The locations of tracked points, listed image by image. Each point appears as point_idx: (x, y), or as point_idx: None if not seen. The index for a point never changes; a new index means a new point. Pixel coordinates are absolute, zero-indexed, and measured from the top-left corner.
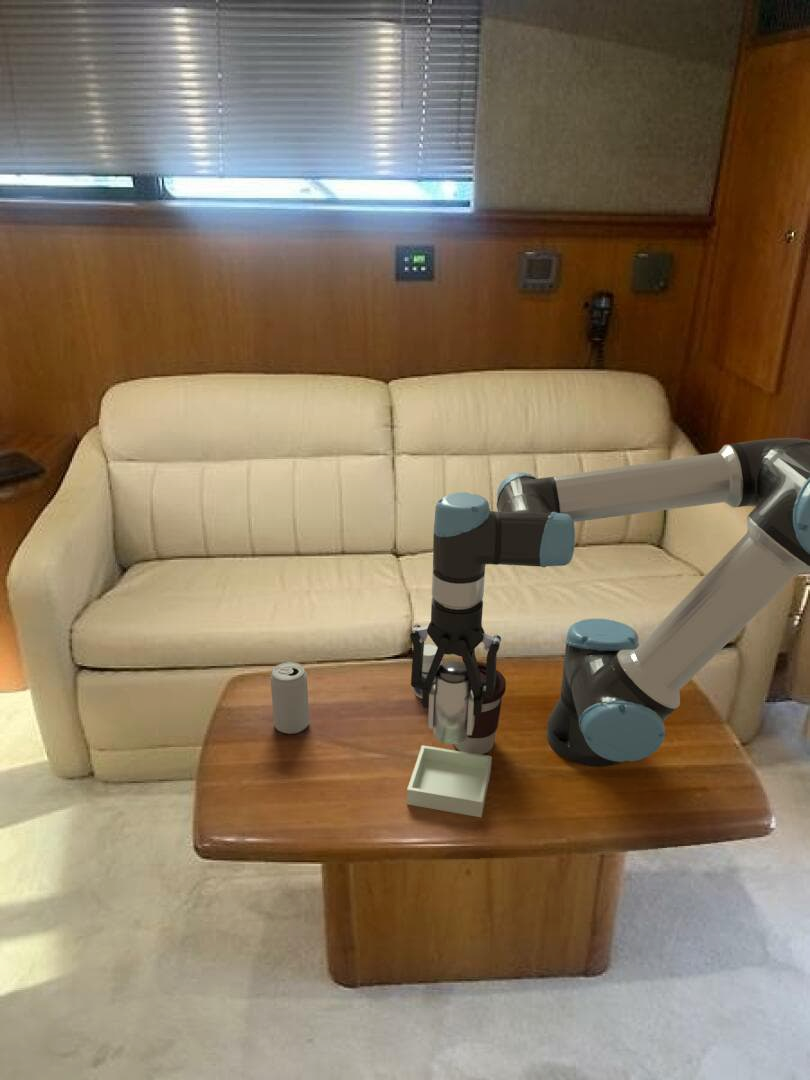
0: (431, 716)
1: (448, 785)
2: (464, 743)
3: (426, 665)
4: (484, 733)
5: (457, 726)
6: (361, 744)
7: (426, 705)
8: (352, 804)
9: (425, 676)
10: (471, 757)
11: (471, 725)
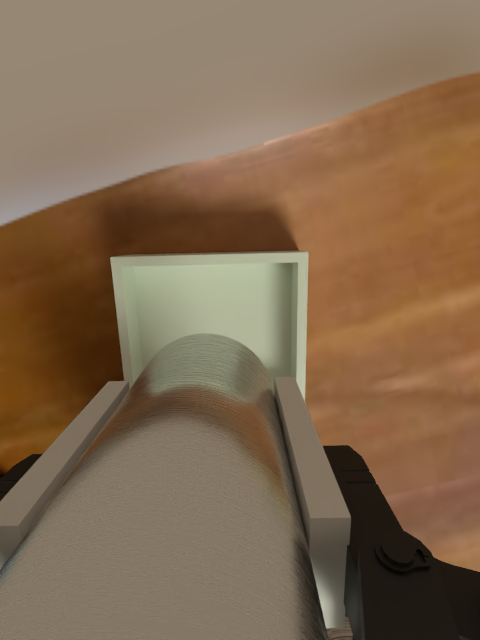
0: (291, 408)
1: (218, 326)
2: None
3: None
4: None
5: (147, 375)
6: (438, 408)
7: (336, 456)
8: (423, 216)
9: (346, 638)
10: None
11: (88, 405)
